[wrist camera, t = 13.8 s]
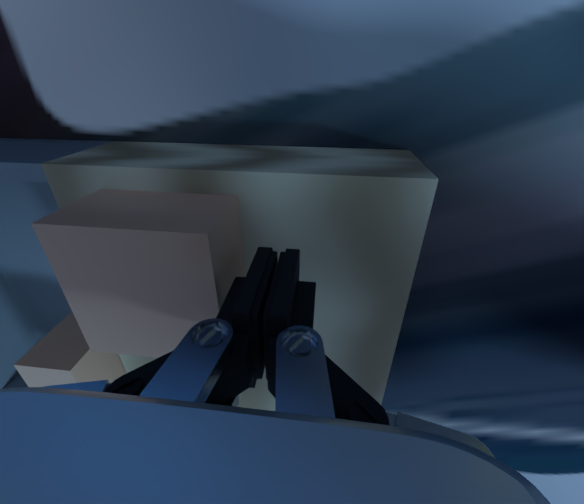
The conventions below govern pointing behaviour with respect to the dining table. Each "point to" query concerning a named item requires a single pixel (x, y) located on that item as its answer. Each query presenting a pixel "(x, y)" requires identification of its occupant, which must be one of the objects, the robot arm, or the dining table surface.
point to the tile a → (67, 359)
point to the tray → (27, 249)
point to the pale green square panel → (295, 228)
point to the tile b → (143, 264)
